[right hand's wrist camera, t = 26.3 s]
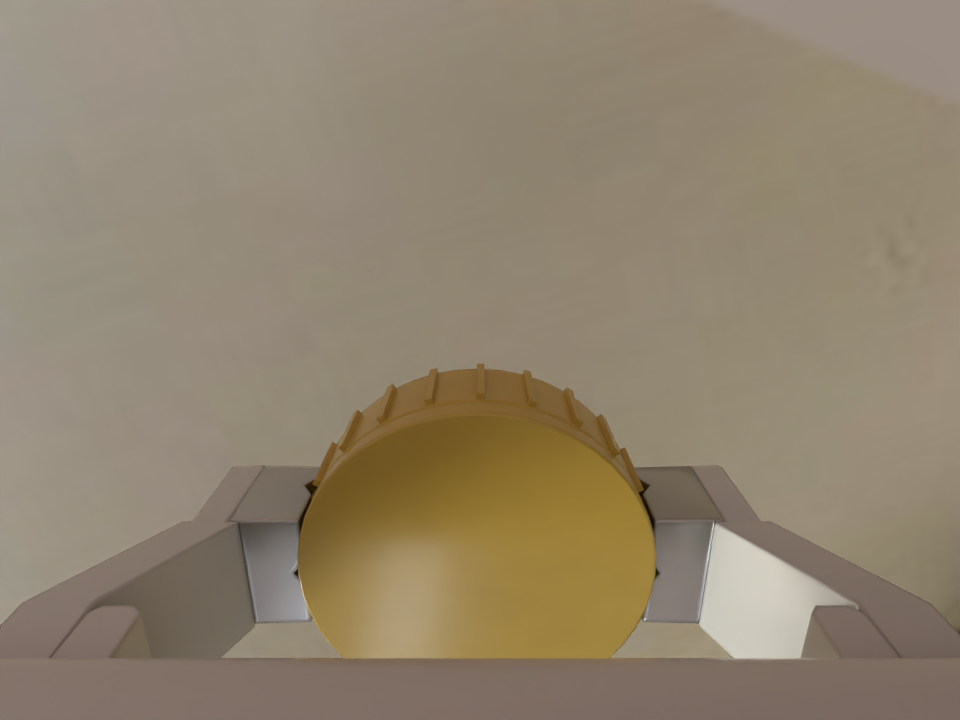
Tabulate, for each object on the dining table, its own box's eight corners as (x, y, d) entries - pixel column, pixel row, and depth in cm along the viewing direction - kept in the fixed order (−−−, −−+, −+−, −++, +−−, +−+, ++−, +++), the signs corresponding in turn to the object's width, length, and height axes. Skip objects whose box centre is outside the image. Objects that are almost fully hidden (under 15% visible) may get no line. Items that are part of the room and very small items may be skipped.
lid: (673, 578, 10) (704, 652, 9) (400, 664, 11) (388, 747, 10) (575, 311, 9) (594, 349, 7) (261, 432, 9) (220, 489, 8)
